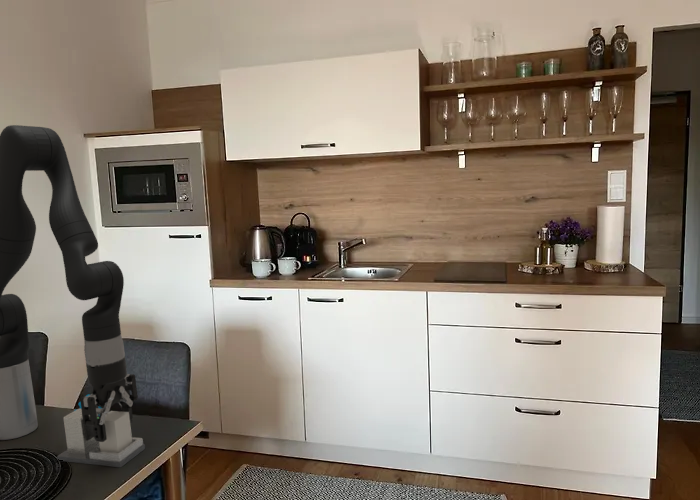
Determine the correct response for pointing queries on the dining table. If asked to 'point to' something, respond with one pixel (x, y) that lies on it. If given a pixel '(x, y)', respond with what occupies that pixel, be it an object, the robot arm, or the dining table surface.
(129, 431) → the block
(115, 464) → the base with upright block
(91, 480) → the dining table surface
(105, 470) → the dining table surface
